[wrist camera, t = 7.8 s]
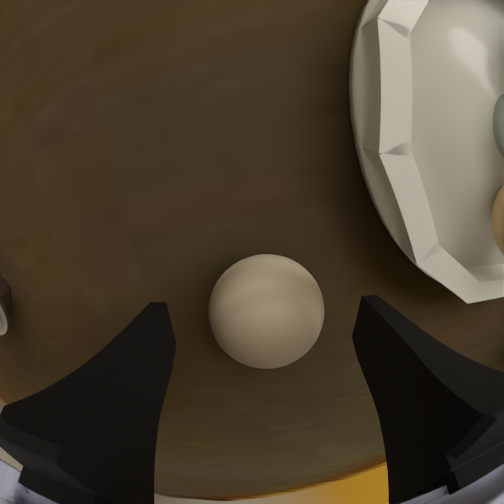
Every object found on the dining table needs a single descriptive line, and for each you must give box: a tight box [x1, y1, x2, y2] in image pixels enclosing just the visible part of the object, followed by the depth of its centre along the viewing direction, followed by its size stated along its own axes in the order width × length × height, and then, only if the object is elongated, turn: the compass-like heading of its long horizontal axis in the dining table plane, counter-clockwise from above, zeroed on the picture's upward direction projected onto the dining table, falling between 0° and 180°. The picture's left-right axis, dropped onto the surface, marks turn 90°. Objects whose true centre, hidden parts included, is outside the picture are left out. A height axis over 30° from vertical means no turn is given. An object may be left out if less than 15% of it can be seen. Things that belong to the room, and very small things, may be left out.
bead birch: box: [209, 254, 324, 369], centre depth 11 cm, size 4×4×4 cm
